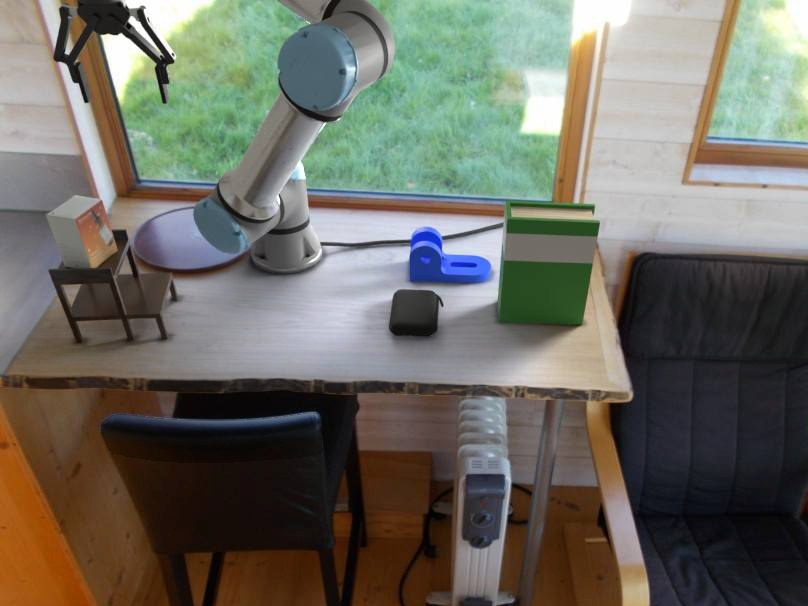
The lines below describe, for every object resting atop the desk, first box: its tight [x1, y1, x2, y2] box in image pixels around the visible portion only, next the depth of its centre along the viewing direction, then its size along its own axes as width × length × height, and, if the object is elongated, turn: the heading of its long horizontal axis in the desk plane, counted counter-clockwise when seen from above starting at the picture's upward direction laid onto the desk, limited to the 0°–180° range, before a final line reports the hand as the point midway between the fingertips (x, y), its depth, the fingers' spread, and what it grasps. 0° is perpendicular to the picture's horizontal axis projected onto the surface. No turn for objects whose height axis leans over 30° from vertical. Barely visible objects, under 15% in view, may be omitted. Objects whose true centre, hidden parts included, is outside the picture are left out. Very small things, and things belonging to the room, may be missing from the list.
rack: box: [47, 228, 179, 344], centre depth 140 cm, size 16×14×16 cm
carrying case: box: [388, 288, 444, 338], centre depth 152 cm, size 11×3×15 cm
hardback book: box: [497, 199, 601, 325], centre depth 150 cm, size 18×7×24 cm, turn 94°
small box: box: [45, 194, 117, 268], centre depth 132 cm, size 8×6×10 cm
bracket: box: [408, 226, 492, 284], centre depth 164 cm, size 18×8×9 cm, turn 93°
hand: (127, 100), depth 139 cm, fingers open, 13 cm apart
